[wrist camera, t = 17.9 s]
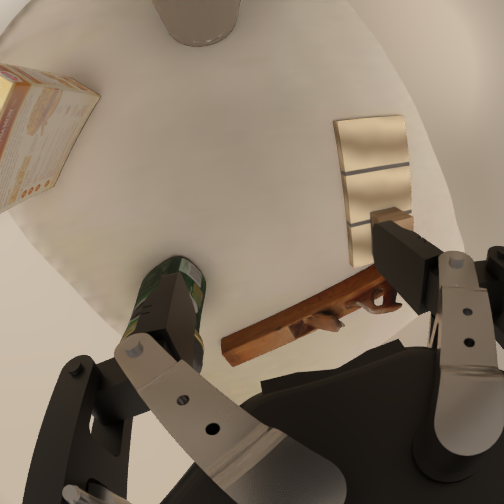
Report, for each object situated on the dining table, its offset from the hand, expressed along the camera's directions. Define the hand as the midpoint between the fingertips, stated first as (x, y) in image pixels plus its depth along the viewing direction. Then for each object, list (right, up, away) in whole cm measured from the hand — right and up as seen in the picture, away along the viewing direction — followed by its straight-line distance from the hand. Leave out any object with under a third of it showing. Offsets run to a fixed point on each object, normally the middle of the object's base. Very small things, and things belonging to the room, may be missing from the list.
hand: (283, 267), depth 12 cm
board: (+17, +10, +28) cm, 35 cm away
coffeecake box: (-28, +17, +20) cm, 39 cm away
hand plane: (+9, -8, +36) cm, 38 cm away
